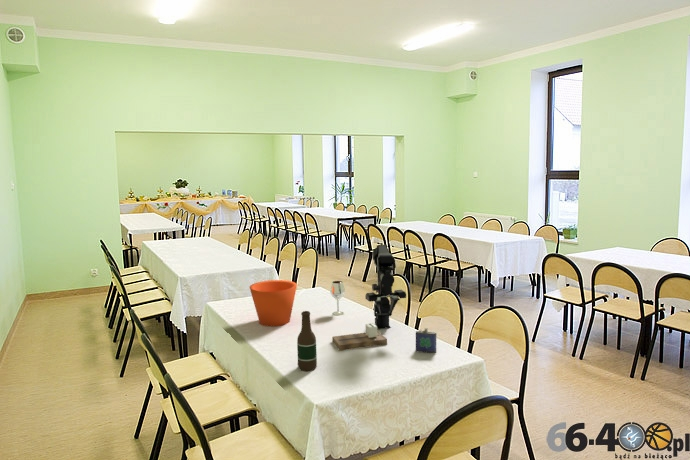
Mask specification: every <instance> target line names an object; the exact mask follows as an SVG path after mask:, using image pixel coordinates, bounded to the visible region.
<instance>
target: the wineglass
mask: <svg viewBox="0 0 690 460" xmlns="http://www.w3.org/2000/svg"><path fill="white" fill-rule="evenodd" d="M345 294H346V289H345V285H344V282H343V281H341V280H335V281H332V283H331V286H330V295H331V296H332V298H333V299H335V300H336V305H337V306H336V308H337V309H336V310H337V311H333V312H332V315H333V316H342V315H345V313H344V311H341V310H340V309H339V308H340V306H339V304H340V303H339V301H340V300H341V299H342V298H343V297H344V296H345Z"/></svg>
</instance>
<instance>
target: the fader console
mask: <svg viewBox="0 0 690 460" xmlns="http://www.w3.org/2000/svg"><path fill="white" fill-rule="evenodd" d="M331 339H332V343H333V344H334V346H335V347H336V348H337V350H338V351H346V350H353V349H360V348H361V349H362V348H370V347H378V346H385V345H388V339H387V337H385V336H384V335H383V334H382V333H381V332H380V331H378V330H377V337H371V338H369V337H368V336H367V335H366V332H360V333H351V334H343V335H334V336H332V338H331Z"/></svg>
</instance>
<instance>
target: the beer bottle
mask: <svg viewBox="0 0 690 460" xmlns="http://www.w3.org/2000/svg"><path fill="white" fill-rule="evenodd" d="M300 315H301V328H300V332H299V334H298V336H297V338H296V339H297V340H296V341H297V342H296V345H297V346H296V347H297V368H298V369H299V371H302V372H311V371H315V369H316V368H317V367H318V366H317V364H318V361H317V360H318V359H317V358H318V357H317V356H318V355H317V337H316V335H315V333H314V332H313V330H312V325H311V316H310V315H311V312H310V311H309V310H304V311H301V314H300Z"/></svg>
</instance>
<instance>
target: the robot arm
mask: <svg viewBox="0 0 690 460" xmlns="http://www.w3.org/2000/svg"><path fill="white" fill-rule="evenodd" d="M371 256H372V260H373V264H374V266H375V268H376V271H377V272H376V273H377V274H376V275H377V283H372V285H371V290H372V291H371V292H366V293H365V296H364V297H365V300H366V301H368V302H369V303H370V302H374V303H375V304H374V305H373V315H374V316H373V317H375V318H374V324H375V325H376V326H377V330H383V329H389V328H391V325H390V317H391V316H392V315H393V311H394V309H395V306H396V305H397V303H398V301H400V300H401V299H406V298H407V293H406V291H404V290H403V289H394V291H393V287H394V283H395V277H394V275H393V271H394V272H395V271H396V268H397V265H396V259H395V257H394V256H393V254H392V253H390V249H389V248H388V245H386V244H377V245H376V247H375V248H373V250H372V255H371ZM374 291H375V292H376V293H375V292H374Z"/></svg>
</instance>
